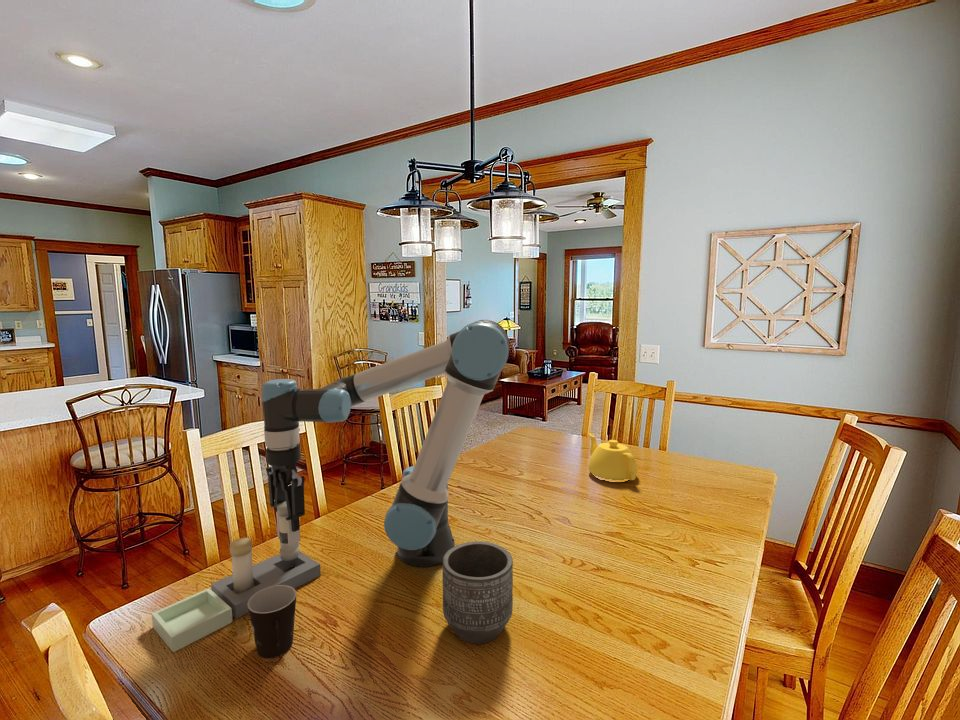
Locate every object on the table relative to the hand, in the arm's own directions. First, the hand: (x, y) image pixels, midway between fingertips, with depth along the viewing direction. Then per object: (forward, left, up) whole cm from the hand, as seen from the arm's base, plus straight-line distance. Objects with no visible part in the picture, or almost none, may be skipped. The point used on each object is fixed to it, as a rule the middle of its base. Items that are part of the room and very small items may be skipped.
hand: (289, 539), depth 115 cm
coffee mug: (-21, +16, -9) cm, 28 cm away
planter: (-47, -14, -9) cm, 50 cm away
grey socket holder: (0, +6, -9) cm, 11 cm away
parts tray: (-1, +22, -9) cm, 24 cm away
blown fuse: (0, 0, -4) cm, 4 cm away
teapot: (-33, -111, -10) cm, 116 cm away
